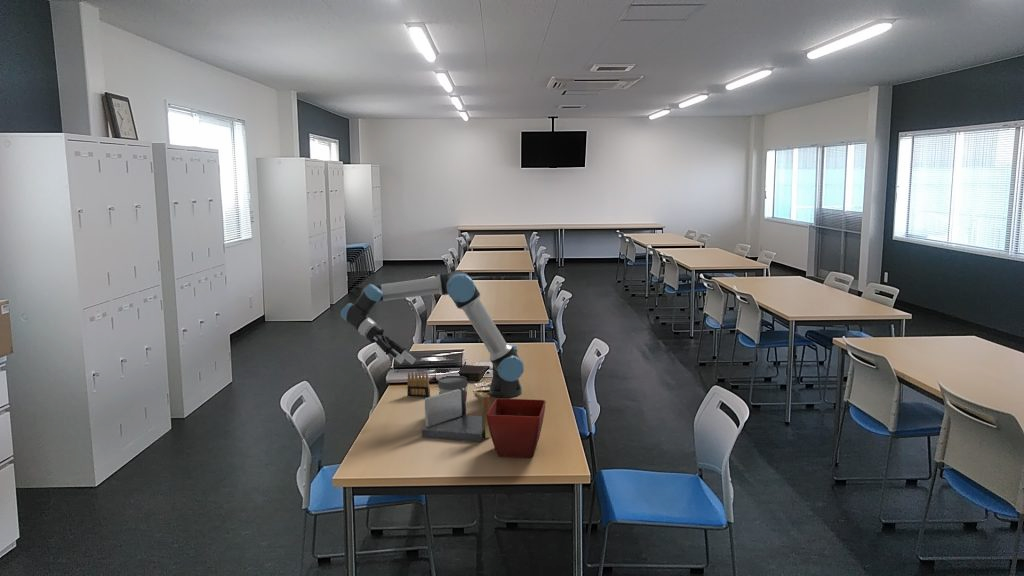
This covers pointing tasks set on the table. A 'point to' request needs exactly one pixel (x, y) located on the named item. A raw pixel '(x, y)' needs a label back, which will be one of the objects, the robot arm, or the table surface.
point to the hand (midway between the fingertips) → (408, 361)
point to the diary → (469, 372)
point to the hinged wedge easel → (445, 406)
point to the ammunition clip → (418, 385)
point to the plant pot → (516, 426)
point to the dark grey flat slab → (457, 429)
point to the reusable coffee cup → (452, 383)
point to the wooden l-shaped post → (484, 412)
